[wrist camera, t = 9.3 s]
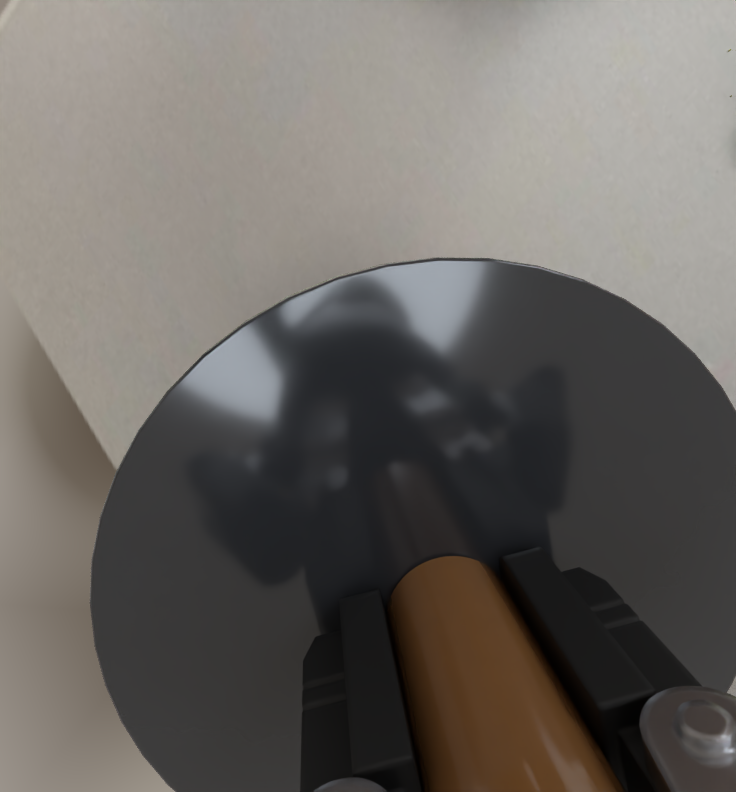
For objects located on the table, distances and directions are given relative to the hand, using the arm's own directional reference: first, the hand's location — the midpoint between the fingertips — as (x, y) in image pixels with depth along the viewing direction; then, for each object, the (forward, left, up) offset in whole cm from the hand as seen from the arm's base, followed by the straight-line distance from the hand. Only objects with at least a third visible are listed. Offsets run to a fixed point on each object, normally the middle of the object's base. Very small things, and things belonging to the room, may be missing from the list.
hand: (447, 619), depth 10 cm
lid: (0, 0, -1) cm, 1 cm away
